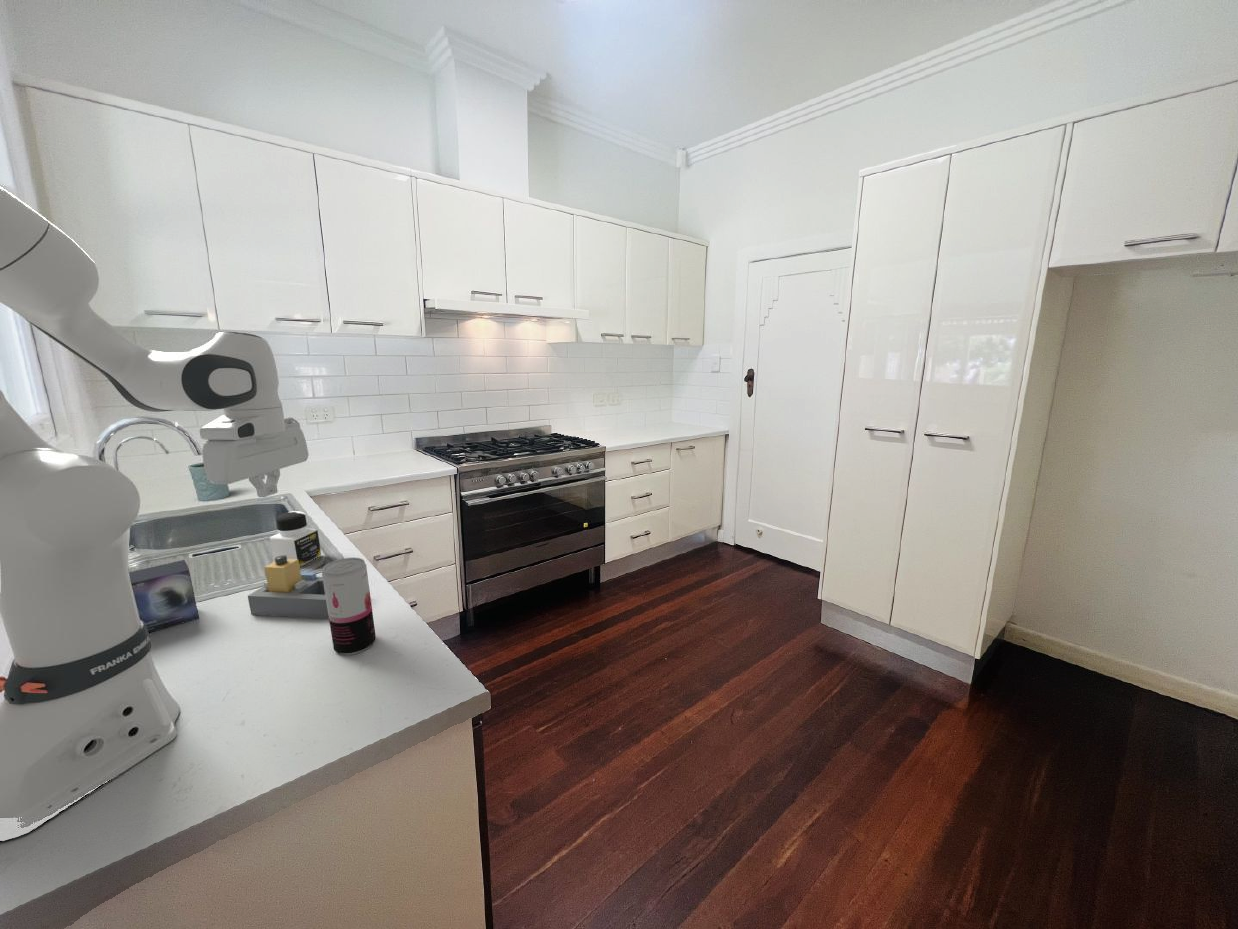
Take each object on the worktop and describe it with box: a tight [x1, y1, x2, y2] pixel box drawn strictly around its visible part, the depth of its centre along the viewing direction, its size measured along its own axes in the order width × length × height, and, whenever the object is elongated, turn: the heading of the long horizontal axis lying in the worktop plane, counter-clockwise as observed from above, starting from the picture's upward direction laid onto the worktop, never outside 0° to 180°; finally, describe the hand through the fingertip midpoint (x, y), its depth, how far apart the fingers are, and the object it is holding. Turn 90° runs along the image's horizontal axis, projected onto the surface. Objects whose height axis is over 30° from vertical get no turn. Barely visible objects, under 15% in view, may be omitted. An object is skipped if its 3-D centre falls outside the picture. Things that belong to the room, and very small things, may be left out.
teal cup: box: [188, 462, 230, 502], centre depth 172 cm, size 10×10×12 cm
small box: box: [129, 559, 200, 634], centre depth 93 cm, size 11×6×10 cm, turn 136°
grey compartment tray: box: [247, 571, 329, 620], centre depth 100 cm, size 9×16×5 cm, turn 84°
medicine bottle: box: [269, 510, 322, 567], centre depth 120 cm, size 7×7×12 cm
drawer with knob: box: [264, 555, 302, 593], centre depth 100 cm, size 4×4×10 cm
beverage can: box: [321, 557, 377, 656], centre depth 85 cm, size 6×6×15 cm
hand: (267, 495), depth 95 cm, fingers closed
